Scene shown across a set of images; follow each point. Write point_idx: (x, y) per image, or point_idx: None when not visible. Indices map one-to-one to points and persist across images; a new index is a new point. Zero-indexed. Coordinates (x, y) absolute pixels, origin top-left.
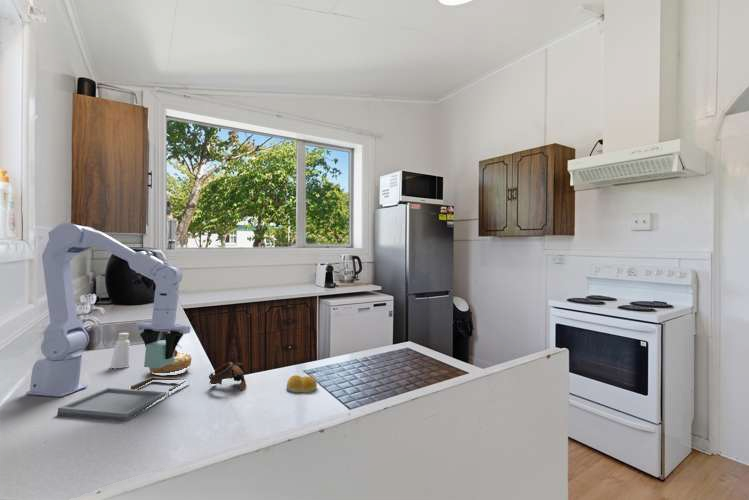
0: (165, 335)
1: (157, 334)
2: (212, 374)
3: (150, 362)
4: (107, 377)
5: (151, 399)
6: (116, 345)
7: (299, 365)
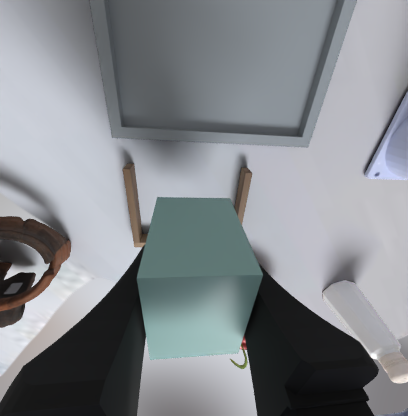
0: (92, 386)
1: (259, 389)
2: (43, 258)
3: (206, 209)
4: (340, 240)
5: (104, 50)
6: (390, 334)
7: (4, 369)
